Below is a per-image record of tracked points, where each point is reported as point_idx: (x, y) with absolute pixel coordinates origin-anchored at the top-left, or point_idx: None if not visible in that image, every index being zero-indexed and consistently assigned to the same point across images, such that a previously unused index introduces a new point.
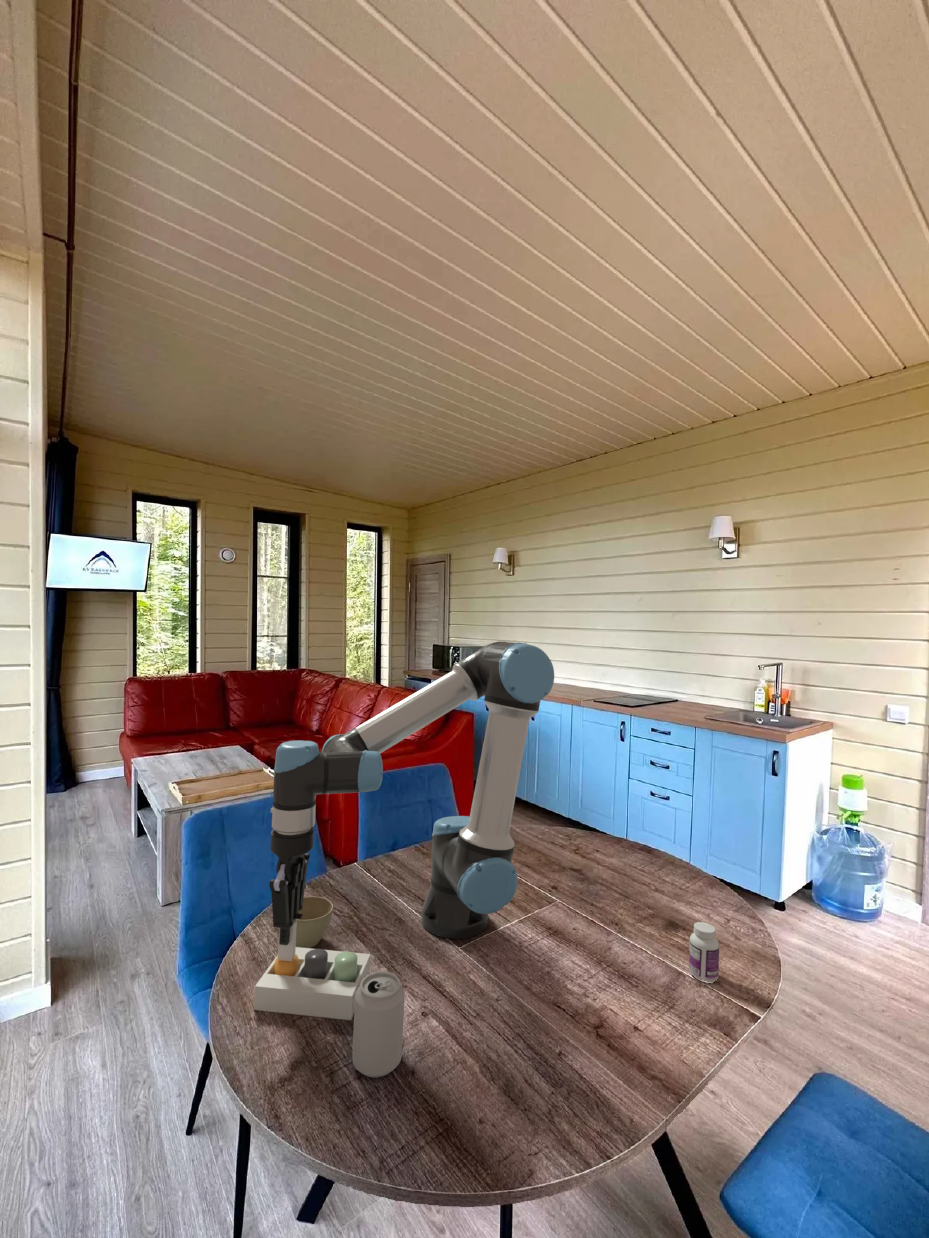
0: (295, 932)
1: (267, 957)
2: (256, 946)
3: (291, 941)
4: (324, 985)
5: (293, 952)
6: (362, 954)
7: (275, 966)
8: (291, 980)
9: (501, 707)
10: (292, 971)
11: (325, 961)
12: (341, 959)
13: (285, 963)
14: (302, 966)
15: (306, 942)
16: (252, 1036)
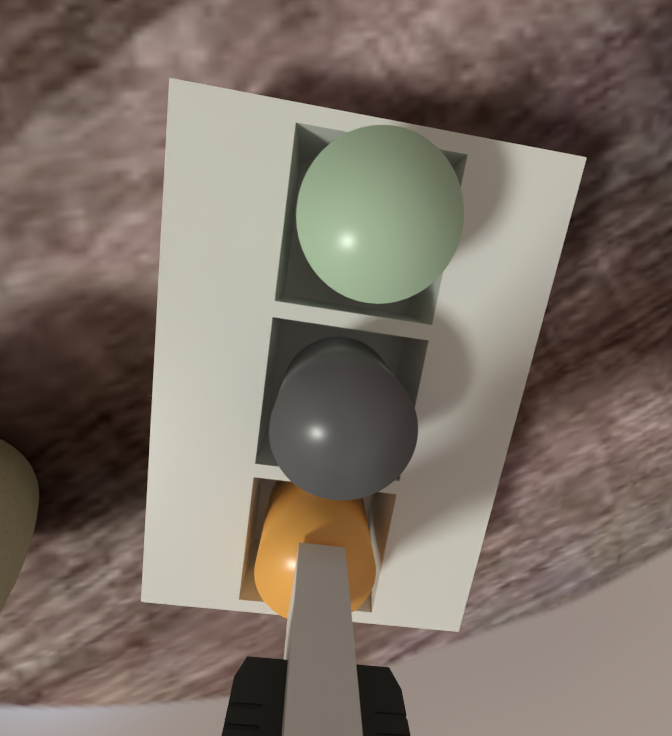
0: (306, 690)
1: (123, 602)
2: (55, 660)
3: (353, 657)
4: (479, 330)
5: (328, 574)
6: (176, 139)
7: None
8: (429, 498)
9: None
10: (353, 510)
11: (374, 362)
12: (392, 252)
13: (351, 570)
14: None
15: (30, 491)
16: (557, 525)
